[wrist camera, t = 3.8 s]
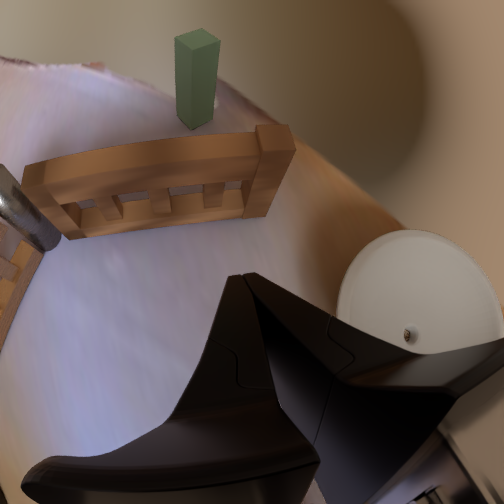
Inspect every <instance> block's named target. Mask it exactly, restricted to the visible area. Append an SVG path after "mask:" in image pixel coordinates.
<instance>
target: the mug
mask: <svg viewBox="0 0 504 504" xmlns="http://www.w3.org/2000/svg"><path fill="white" fill-rule="evenodd" d="M0 504H7V503H6V500H5V498H4V496H3V494H2V492H1V490H0Z"/></svg>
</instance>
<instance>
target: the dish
mask: <svg viewBox="0 0 504 504" xmlns="http://www.w3.org/2000/svg"><path fill="white" fill-rule="evenodd" d="M336 318H338V319H340V320H341V321H343V322H345V323H347V324H349V325H351V326H353V327H355V328H357V329H359V330H361V331H363V332H366V333H368V334H370V335H372V336H375V337H377V338H379V339H382V340H384V341H386V342H389V343H391V344H393V345H396V346H398V347H401V348H403V349H405V350H408V351H411V352H414V353H418V354H435V353H440V352H446V351H451V350H456V349H461V348H466V347H470V346H475V345H479V344H483V343H487V342H491V341H495V340H498V339H501V338H504V321H503V315H502V310H501V306H500V303H499V300H498V297H497V295H496V292H495V290H494V288H493V286H492V284H491V282H490V280H489V278H488V277H487V275H486V274H485V272H484V271H483V269H482V268H481V267H480V265H479V264H478V263H477V262H476V261H475V260H474V258H473V257H472V256H471V255H470V254H468V253H467V252H466V251H465V250H464V249H463V248H461V247H460V246H458V245H457V244H455V243H454V242H452V241H451V240H449V239H447V238H445V237H443V236H441V235H438V234H435V233H432V232H428V231H423V230H416V229H406V230H398V231H394V232H390V233H387V234H384V235H382V236H380V237H378V238H376V239H374V240H373V241H371V242H370V243H369V244H367V245H366V246H365V247H364V248H363V249H362V250H361V251H360V252H359V253H358V254H357V255H356V257H355V258H354V259H353V261H352V262H351V264H350V265H349V267H348V269H347V271H346V273H345V275H344V277H343V280H342V283H341V286H340V290H339V294H338V299H337V308H336ZM405 329H407V330H408V331H409V332H410V339H409V340H408V341H407V342H406V341H405V339H404V330H405Z"/></svg>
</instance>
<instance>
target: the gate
mask: <svg viewBox="0 0 504 504" xmlns="http://www.w3.org/2000/svg"><path fill="white" fill-rule="evenodd" d="M295 151H296V148H295V145H294V142H293V139H292V135H291V132H290V129H289V126H288V125H256V129H255V132H247V133H227V134H212V135H200V136H189V137H179V138H170V139H161V140H153V141H146V142H139V143H132V144H126V145H119V146H113V147H108V148H102V149H97V150H91V151H86V152H81V153H77V154H72V155H67V156H63V157H58V158H54V159H50V160H46V161H42V162H38V163H34V164H30V165H27V166H25V168H24V173H23V178H22V183H21V188H20V190H21V191H22V192H23V193H24V194H25V196H26V197H27V198H28V199H29V200H30V201H31V202H32V203H33V204H34V205H35V206H36V207H37V208H38V209H39V211H40V212H41V213H42V214H43V215H44V216H45V217H46V218H47V219H48V220H49V221H50V222H51V223H52V224H53V225H54V226H55V227H56V228H57V229H58V230H59V231H60V232H61V233H62V234H63V235H64V236H65V237H66V238H67V239H68V240H74V239H80V238H87V237H94V236H100V235H107V234H114V233H121V232H128V231H136V230H143V229H151V228H158V227H166V226H174V225H182V224H191V223H199V222H208V221H216V220H225V219H235V218H242V219H246V218H256V217H265V216H266V214H267V212H268V209H269V207H270V205H271V203H272V201H273V199H274V196H275V194H276V192H277V190H278V188H279V186H280V183H281V181H282V179H283V177H284V175H285V173H286V171H287V168H288V166H289V164H290V162H291V160H292V158H293V155H294V153H295ZM240 180H242V184H241V188H240V189H232V190H224V186H225V182H228V181H240ZM197 184H203V192H202V193H192V194H184V195H175V196H170V194H169V188H171V187H179V186H188V185H197ZM140 191H148V195H149V198H150V199H144V200H137V201H130V202H123V203H121V202H120V200H119V197H118V195H119V194H126V193H133V192H140ZM89 199H93V200H94V202H95V203H96V205H97V207H91V208H85V209H81V208H80V207H79V206H78V204H77V203H76V202H77V201H83V200H89Z"/></svg>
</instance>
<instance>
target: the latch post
mask: <svg viewBox="0 0 504 504" xmlns="http://www.w3.org/2000/svg"><path fill="white" fill-rule="evenodd" d="M219 50H220V40H219V39H218V38H216V37H215V36H213V35H211V34H210V33H208V32H207V31H205V30H204V29H202V28H201V29H198V30H195V31H192V32H189V33H186V34H183V35H180V36H177V37H175V83H176V108H177V116H178V117H179V118H180V119H181V120H182V121H183V122H184V123H185V124H186V125H187V127H188V128H189V129H190V130H193V129H195V128H196V127H198V126H200V125H202V124H204V123H206V122H208V121H210V120H212V119H213V110H214V99H215V88H216V78H217V68H218V58H219Z"/></svg>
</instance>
